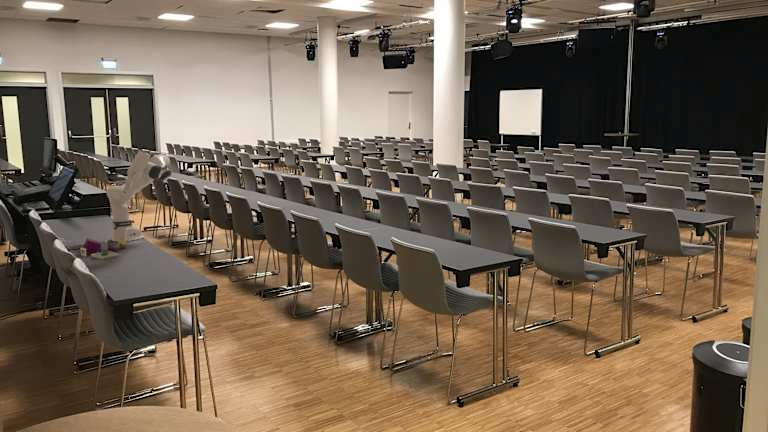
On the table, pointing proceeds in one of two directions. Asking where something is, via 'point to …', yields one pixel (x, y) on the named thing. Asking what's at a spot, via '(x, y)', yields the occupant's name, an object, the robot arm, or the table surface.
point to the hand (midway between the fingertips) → (124, 192)
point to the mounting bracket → (94, 246)
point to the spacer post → (104, 248)
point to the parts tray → (110, 255)
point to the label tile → (83, 252)
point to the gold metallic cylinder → (122, 243)
